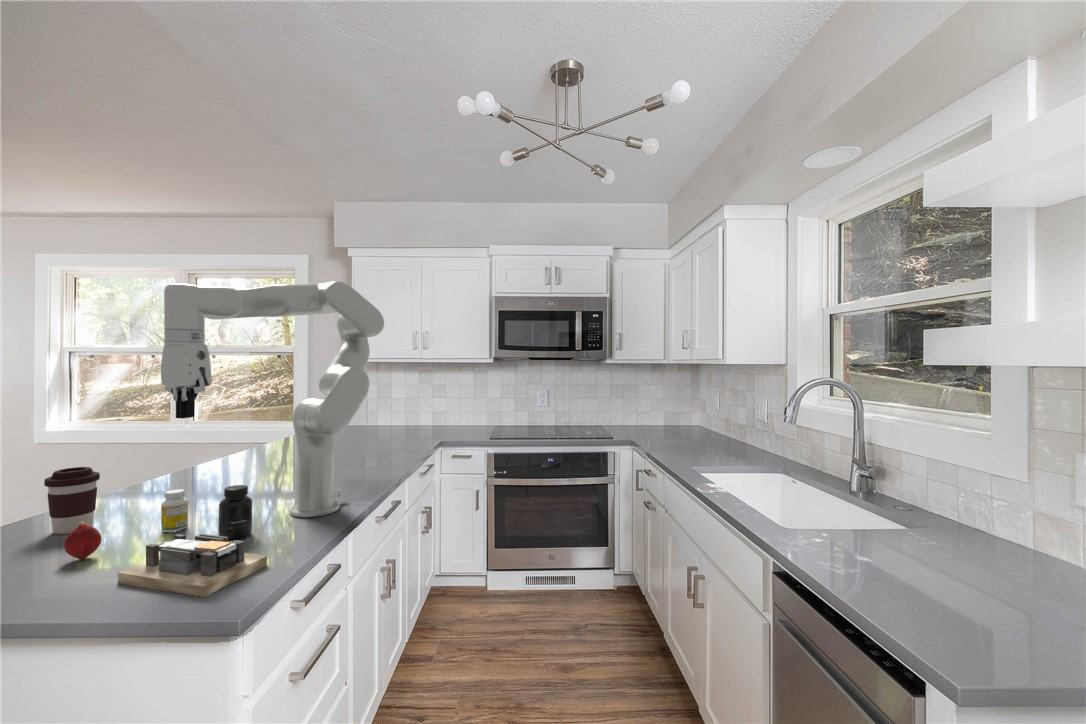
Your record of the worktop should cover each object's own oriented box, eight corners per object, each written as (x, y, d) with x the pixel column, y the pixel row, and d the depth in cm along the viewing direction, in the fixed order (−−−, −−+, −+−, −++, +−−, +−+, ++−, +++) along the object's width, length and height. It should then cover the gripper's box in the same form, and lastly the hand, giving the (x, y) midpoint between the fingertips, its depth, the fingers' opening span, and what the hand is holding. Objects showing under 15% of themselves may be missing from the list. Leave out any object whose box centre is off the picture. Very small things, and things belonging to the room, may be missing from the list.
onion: (107, 556, 106) (107, 519, 106) (75, 566, 101) (75, 527, 101) (90, 552, 108) (90, 516, 108) (57, 562, 103) (57, 524, 103)
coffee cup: (42, 540, 115) (42, 476, 115) (46, 529, 123) (46, 469, 122) (99, 530, 122) (99, 470, 121) (100, 520, 129) (100, 463, 129)
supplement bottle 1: (184, 531, 121) (184, 492, 121) (158, 534, 119) (157, 495, 119) (190, 524, 126) (190, 487, 126) (165, 527, 124) (165, 489, 124)
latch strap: (174, 544, 102) (173, 537, 102) (236, 549, 97) (236, 542, 97) (154, 551, 98) (154, 544, 98) (218, 557, 94) (217, 549, 94)
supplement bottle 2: (236, 543, 113) (236, 491, 113) (211, 541, 115) (211, 490, 115) (259, 533, 120) (258, 484, 120) (235, 531, 122) (235, 482, 121)
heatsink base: (188, 554, 107) (188, 526, 107) (266, 565, 102) (266, 535, 102) (117, 582, 94) (117, 550, 94) (203, 597, 88) (203, 563, 88)
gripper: (225, 338, 115) (225, 416, 115) (176, 339, 119) (176, 414, 119) (194, 337, 108) (194, 420, 108) (143, 337, 112) (143, 418, 112)
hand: (185, 417), depth 114 cm, fingers closed
